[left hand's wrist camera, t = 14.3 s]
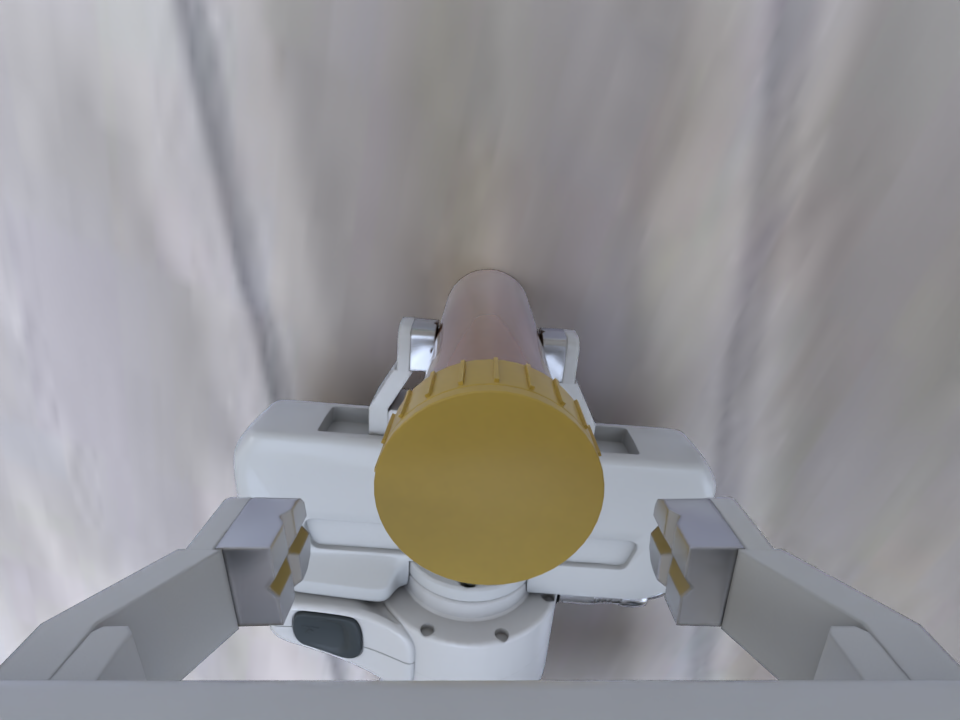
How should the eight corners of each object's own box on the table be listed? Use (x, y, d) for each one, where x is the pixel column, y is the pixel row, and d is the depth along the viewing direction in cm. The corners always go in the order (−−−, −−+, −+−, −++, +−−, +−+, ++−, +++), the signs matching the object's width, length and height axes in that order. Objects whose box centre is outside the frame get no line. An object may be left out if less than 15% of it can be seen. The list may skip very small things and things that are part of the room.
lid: (617, 499, 14) (637, 549, 12) (436, 558, 14) (429, 613, 13) (551, 324, 12) (563, 351, 10) (350, 400, 13) (327, 439, 11)
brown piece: (541, 332, 26) (604, 526, 12) (465, 361, 27) (441, 577, 13) (511, 255, 25) (544, 374, 11) (432, 288, 26) (365, 440, 11)
